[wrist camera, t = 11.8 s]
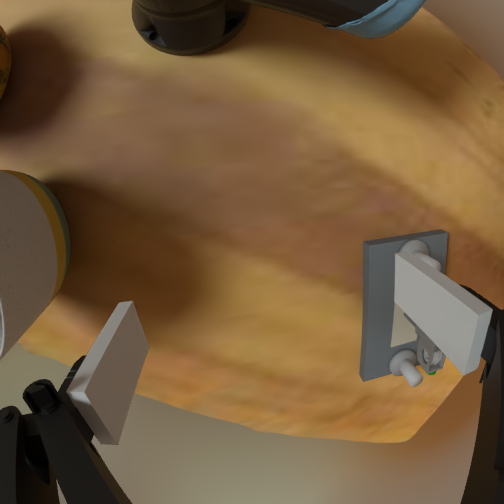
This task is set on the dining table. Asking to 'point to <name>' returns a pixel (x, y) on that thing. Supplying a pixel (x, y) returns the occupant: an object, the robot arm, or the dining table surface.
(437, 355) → the mechanical component
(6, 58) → the pumpkin
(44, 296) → the planter
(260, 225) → the dining table surface
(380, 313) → the gear board
